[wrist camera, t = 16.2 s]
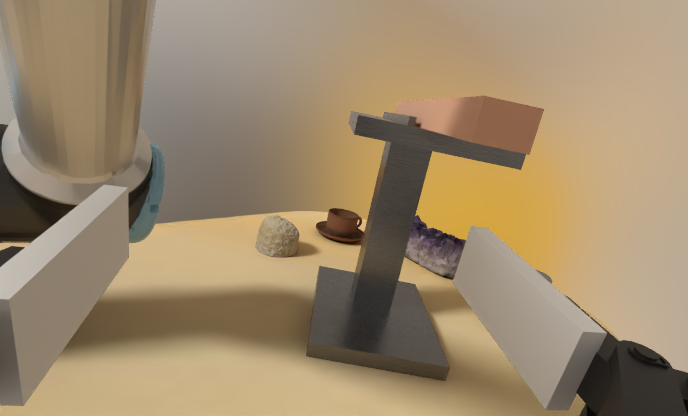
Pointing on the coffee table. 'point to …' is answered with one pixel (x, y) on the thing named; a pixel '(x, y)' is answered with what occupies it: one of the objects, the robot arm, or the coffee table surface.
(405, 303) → the stand
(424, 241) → the geode
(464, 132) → the block
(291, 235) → the beige rough dome
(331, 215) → the cup and saucer
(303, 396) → the coffee table surface
